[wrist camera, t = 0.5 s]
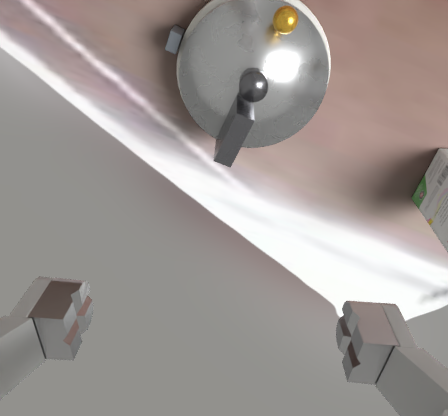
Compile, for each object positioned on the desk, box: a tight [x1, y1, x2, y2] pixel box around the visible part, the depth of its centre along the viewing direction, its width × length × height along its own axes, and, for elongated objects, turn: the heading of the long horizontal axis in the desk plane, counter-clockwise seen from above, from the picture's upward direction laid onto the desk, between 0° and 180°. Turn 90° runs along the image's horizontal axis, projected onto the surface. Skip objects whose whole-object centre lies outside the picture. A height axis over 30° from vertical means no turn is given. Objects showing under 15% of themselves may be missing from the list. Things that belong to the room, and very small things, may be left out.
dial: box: [179, 0, 329, 167], centre depth 37 cm, size 16×16×6 cm
